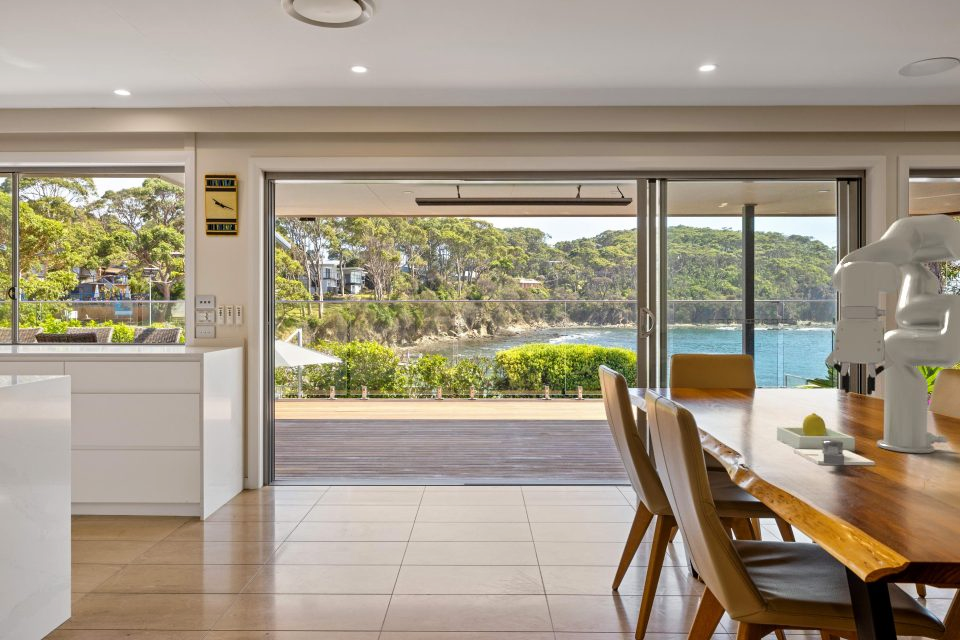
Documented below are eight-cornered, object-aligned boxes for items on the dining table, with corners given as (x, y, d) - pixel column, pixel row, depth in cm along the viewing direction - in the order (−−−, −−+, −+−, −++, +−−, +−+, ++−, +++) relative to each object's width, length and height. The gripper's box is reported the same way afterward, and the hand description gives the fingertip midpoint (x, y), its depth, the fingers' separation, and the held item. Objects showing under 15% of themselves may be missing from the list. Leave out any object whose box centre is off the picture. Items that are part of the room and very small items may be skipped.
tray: (827, 440, 178) (828, 427, 178) (854, 451, 164) (854, 437, 164) (776, 439, 179) (777, 427, 179) (799, 450, 165) (799, 436, 165)
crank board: (845, 453, 162) (845, 449, 162) (874, 465, 149) (874, 461, 149) (793, 452, 163) (793, 448, 163) (817, 464, 150) (817, 460, 150)
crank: (822, 450, 159) (822, 439, 159) (842, 452, 157) (842, 440, 157) (822, 465, 144) (822, 451, 144) (845, 467, 142) (845, 454, 142)
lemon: (820, 440, 174) (820, 411, 174) (829, 444, 168) (829, 414, 168) (799, 440, 175) (799, 411, 175) (807, 444, 169) (807, 414, 169)
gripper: (903, 315, 146) (902, 394, 146) (821, 314, 156) (820, 389, 156) (901, 315, 140) (900, 398, 140) (816, 314, 149) (815, 392, 150)
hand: (858, 392), depth 148 cm, fingers open, 3 cm apart
